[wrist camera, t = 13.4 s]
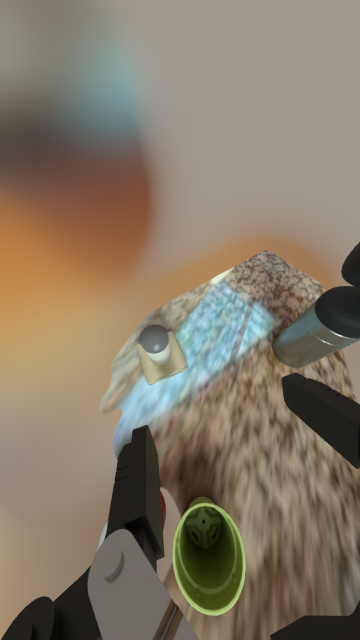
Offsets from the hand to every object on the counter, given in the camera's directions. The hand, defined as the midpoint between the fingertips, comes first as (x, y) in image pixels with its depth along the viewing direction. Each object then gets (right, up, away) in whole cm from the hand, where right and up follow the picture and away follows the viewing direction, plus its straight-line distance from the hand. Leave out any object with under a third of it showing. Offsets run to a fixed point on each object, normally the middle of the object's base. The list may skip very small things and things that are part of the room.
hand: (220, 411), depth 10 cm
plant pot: (+2, -30, +20) cm, 36 cm away
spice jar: (-7, -3, +32) cm, 33 cm away
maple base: (-7, -5, +35) cm, 36 cm away
